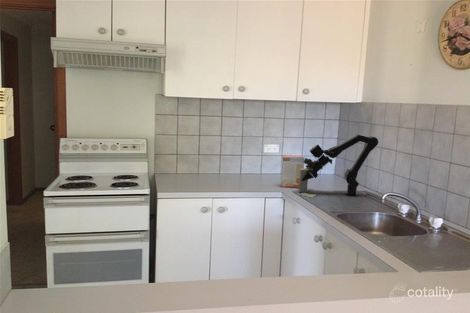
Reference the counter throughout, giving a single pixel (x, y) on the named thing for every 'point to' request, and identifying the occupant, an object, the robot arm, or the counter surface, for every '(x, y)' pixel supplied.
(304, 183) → the chute block
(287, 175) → the cracker box
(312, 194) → the green floppy disk
